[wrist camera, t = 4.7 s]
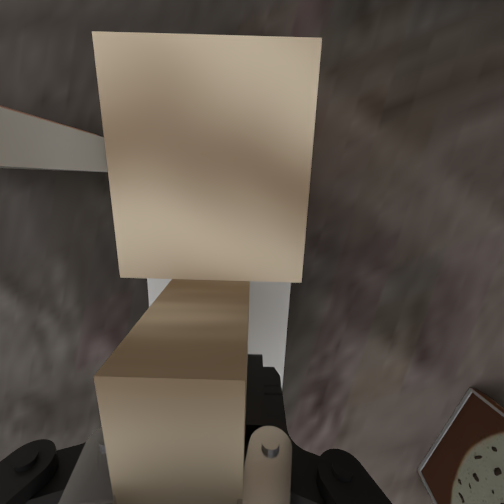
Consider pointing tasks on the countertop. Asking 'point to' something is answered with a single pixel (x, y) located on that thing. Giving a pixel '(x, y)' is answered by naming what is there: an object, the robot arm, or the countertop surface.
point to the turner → (198, 242)
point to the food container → (468, 455)
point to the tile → (47, 144)
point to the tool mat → (257, 319)
